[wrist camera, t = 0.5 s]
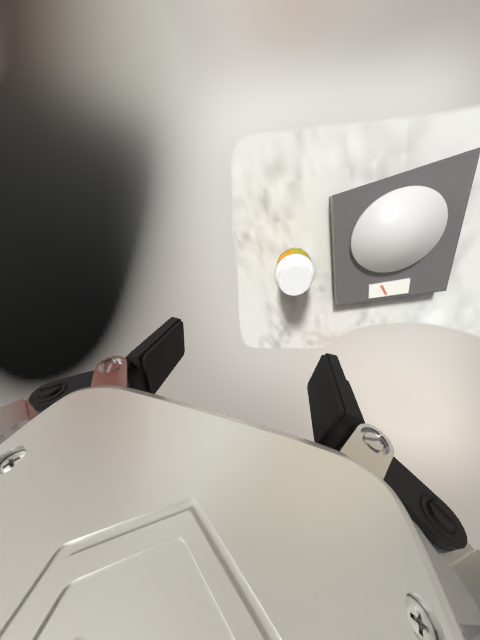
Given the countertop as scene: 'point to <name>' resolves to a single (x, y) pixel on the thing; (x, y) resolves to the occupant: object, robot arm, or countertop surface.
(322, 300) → the countertop surface
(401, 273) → the scale
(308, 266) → the supplement bottle
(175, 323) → the robot arm
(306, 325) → the countertop surface
